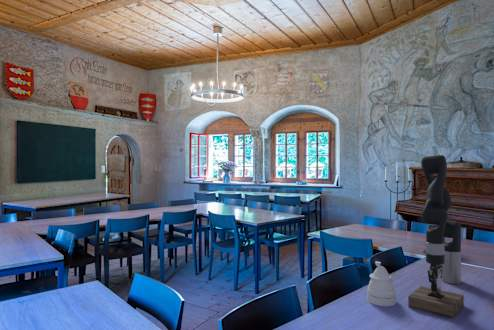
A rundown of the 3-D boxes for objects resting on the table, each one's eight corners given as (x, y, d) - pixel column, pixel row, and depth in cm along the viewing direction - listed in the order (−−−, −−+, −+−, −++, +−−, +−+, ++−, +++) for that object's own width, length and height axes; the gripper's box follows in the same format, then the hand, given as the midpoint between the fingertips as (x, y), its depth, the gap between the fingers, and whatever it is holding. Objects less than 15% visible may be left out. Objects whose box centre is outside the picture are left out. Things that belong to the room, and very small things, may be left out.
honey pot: (361, 298, 167) (360, 261, 167) (381, 294, 172) (381, 258, 173) (381, 308, 156) (380, 268, 156) (402, 303, 161) (401, 264, 161)
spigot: (432, 295, 159) (431, 272, 159) (441, 297, 157) (441, 273, 157) (429, 298, 157) (429, 274, 157) (439, 300, 154) (438, 275, 154)
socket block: (421, 295, 169) (421, 285, 169) (463, 305, 157) (463, 294, 157) (408, 306, 156) (408, 295, 156) (453, 318, 144) (453, 306, 144)
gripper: (431, 248, 164) (431, 284, 164) (421, 253, 154) (421, 292, 154) (448, 250, 159) (449, 287, 159) (439, 256, 149) (440, 296, 149)
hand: (435, 289), depth 157 cm, fingers closed on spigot, 4 cm apart
